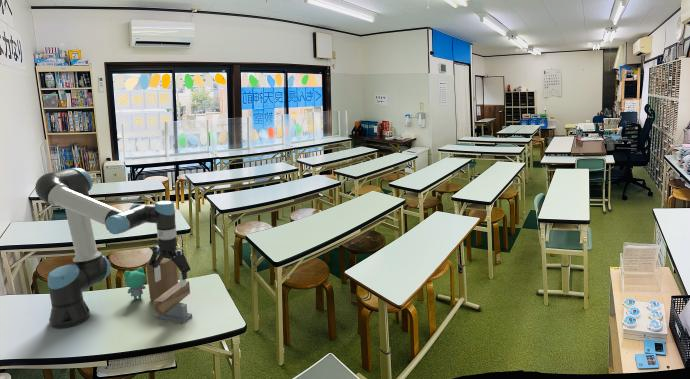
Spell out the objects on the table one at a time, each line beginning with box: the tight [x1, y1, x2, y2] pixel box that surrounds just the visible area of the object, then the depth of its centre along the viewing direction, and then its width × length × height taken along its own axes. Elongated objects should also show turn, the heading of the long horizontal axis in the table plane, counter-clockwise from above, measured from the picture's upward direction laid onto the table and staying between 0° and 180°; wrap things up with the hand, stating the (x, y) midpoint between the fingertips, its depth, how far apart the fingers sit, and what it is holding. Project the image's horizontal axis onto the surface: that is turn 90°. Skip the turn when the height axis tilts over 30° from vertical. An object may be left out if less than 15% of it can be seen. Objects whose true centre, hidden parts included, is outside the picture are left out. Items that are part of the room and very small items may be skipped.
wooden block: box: [145, 254, 179, 301], centre depth 208 cm, size 10×10×20 cm
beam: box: [153, 280, 191, 315], centre depth 189 cm, size 4×20×6 cm, turn 168°
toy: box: [123, 266, 147, 301], centre depth 207 cm, size 9×8×15 cm
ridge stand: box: [156, 302, 193, 325], centre depth 191 cm, size 14×6×7 cm, turn 70°
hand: (170, 283), depth 188 cm, fingers open, 13 cm apart
